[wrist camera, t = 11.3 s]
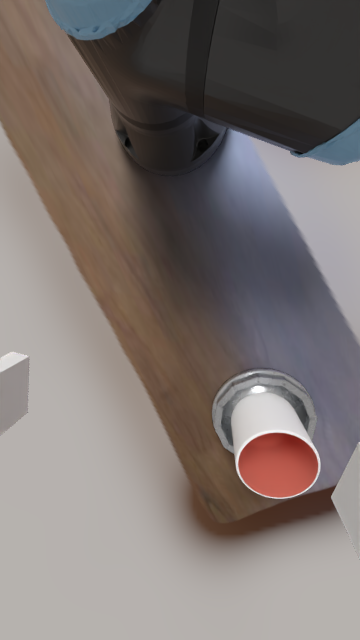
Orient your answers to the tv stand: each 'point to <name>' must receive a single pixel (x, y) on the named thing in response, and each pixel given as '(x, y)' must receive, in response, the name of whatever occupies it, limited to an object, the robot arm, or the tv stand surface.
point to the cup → (272, 447)
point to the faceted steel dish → (256, 383)
